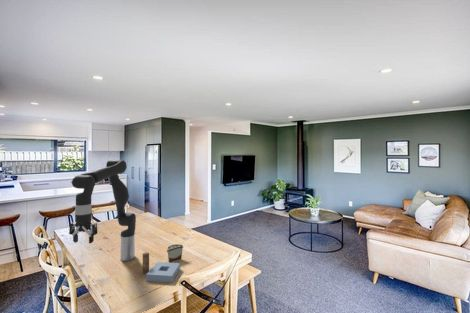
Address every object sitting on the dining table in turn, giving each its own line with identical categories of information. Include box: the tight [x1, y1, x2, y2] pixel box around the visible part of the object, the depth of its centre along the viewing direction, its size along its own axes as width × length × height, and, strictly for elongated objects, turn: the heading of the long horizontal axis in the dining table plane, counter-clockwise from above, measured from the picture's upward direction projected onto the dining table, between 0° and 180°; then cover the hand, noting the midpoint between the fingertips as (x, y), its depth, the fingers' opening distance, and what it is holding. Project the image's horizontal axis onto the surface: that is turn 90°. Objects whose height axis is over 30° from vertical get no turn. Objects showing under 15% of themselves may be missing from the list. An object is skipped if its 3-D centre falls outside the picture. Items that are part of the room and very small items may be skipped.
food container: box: [166, 243, 184, 263], centre depth 169 cm, size 12×6×10 cm, turn 131°
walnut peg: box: [141, 252, 150, 275], centre depth 151 cm, size 4×4×12 cm
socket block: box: [145, 261, 181, 283], centre depth 148 cm, size 16×16×4 cm
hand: (83, 242), depth 125 cm, fingers open, 8 cm apart
